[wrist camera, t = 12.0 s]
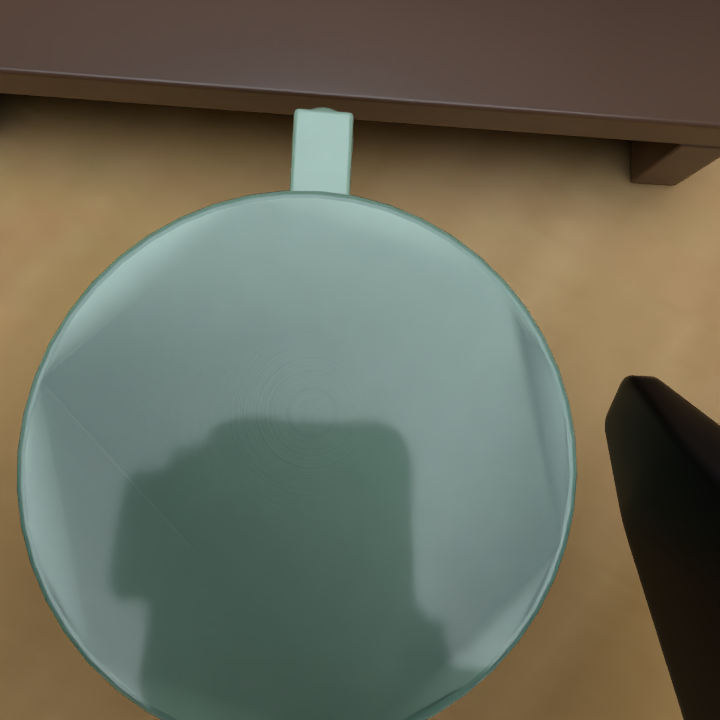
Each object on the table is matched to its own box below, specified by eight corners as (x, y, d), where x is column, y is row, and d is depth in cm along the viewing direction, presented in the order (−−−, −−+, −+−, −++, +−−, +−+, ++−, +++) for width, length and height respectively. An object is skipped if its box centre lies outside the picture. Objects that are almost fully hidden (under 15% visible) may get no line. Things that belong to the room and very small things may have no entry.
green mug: (426, 565, 16) (574, 760, 7) (175, 557, 16) (-13, 754, 7) (438, 238, 17) (587, 34, 8) (197, 223, 16) (54, -12, 7)
